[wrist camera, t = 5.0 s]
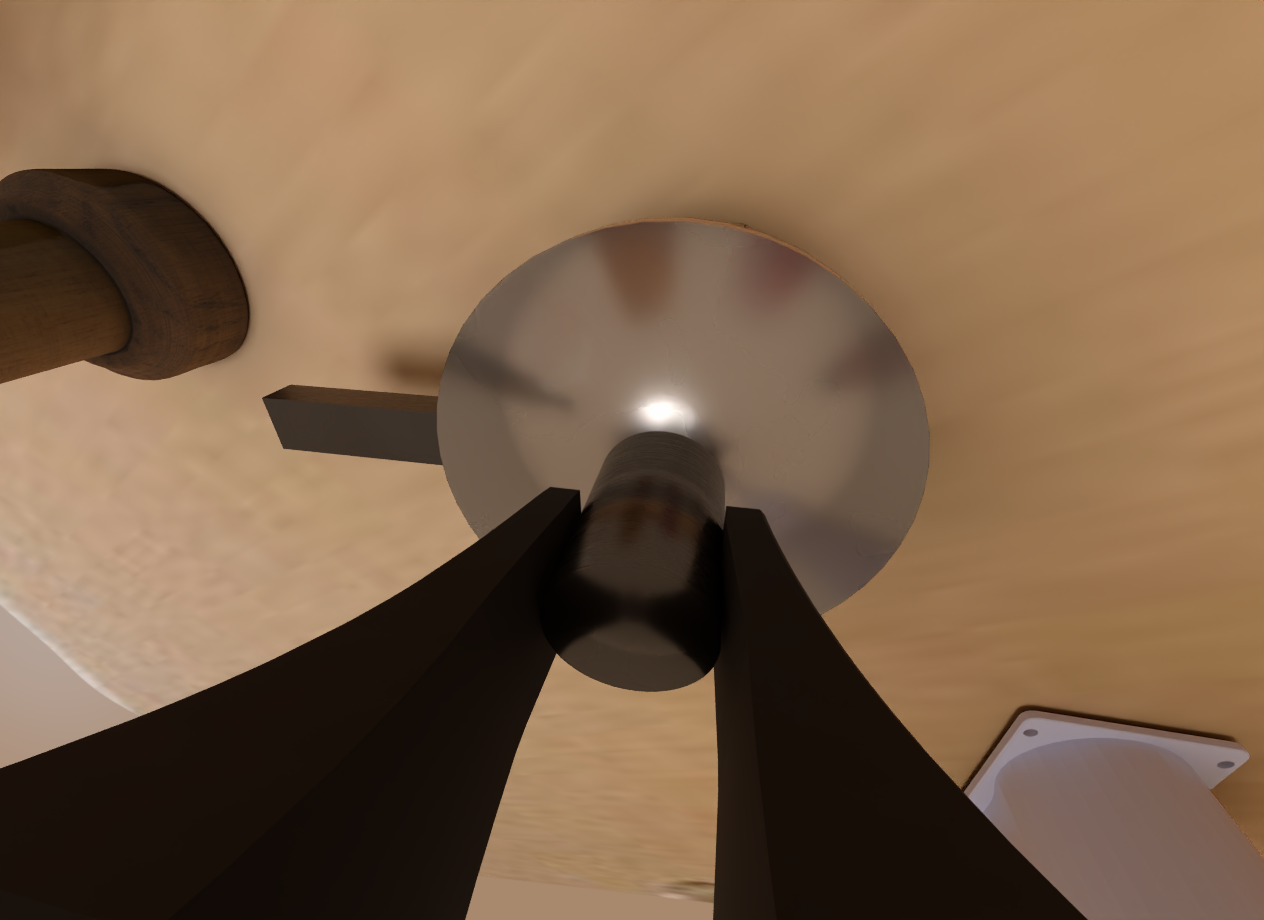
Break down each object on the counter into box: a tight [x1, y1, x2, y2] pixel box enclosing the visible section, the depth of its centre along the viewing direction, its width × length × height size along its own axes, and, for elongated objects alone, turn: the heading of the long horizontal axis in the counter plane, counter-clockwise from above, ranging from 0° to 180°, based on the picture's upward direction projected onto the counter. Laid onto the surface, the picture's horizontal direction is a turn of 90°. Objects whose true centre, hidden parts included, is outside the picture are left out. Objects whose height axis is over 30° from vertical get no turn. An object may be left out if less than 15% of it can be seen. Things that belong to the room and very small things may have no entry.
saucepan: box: [262, 223, 753, 465], centre depth 14 cm, size 10×16×5 cm, turn 90°
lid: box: [437, 217, 929, 692], centre depth 10 cm, size 11×11×6 cm
